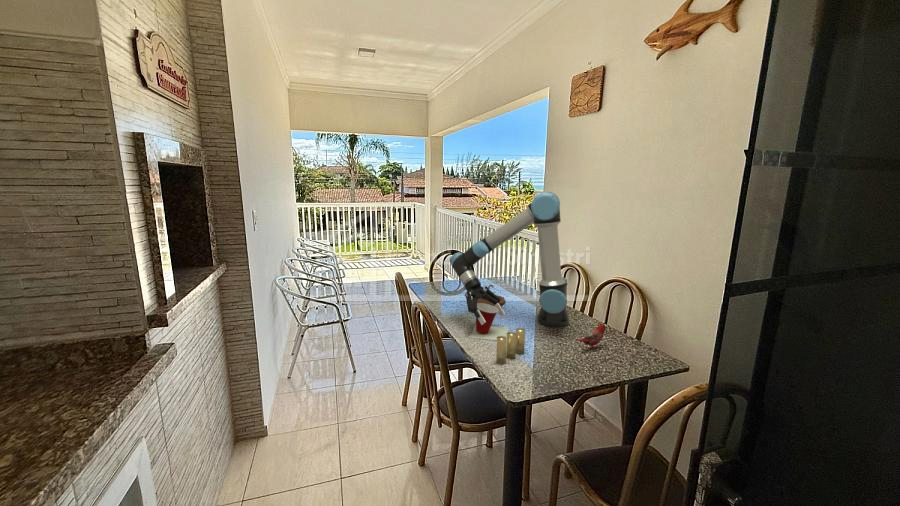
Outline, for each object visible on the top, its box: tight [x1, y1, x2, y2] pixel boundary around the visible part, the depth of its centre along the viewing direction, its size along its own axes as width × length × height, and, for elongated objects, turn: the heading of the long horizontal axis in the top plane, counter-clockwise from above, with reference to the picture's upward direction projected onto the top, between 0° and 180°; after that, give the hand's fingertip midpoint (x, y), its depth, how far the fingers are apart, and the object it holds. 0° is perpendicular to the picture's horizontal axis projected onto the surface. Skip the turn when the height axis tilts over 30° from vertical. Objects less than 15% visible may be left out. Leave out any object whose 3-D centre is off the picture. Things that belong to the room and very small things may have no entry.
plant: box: [477, 284, 506, 307], centre depth 215 cm, size 20×20×11 cm
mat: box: [469, 324, 510, 342], centre depth 171 cm, size 16×16×1 cm
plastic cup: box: [475, 303, 498, 334], centre depth 169 cm, size 11×11×12 cm
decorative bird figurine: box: [575, 323, 607, 350], centre depth 152 cm, size 3×18×10 cm, turn 118°
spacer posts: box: [496, 327, 526, 365], centre depth 146 cm, size 4×16×10 cm, turn 133°
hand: (493, 319), depth 168 cm, fingers open, 13 cm apart
